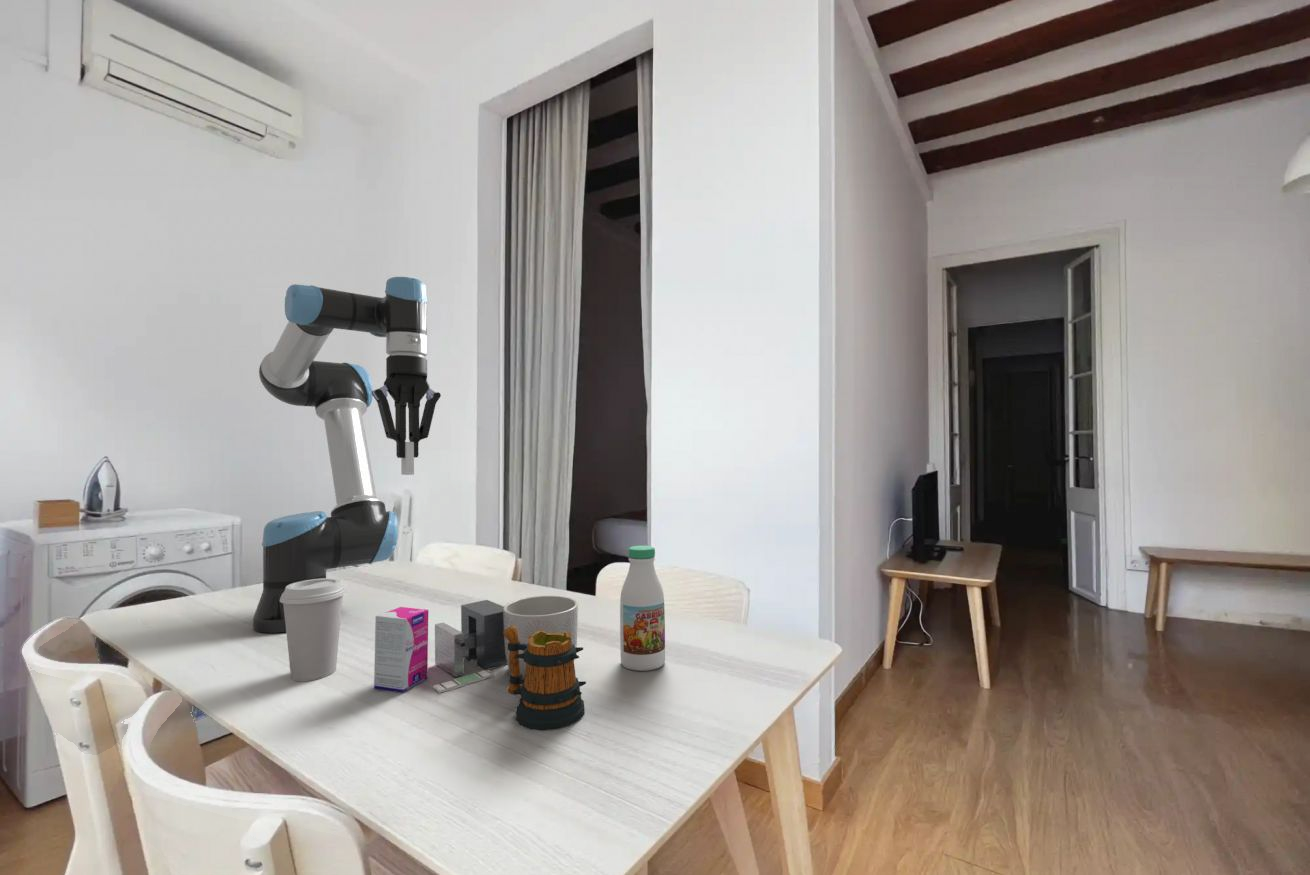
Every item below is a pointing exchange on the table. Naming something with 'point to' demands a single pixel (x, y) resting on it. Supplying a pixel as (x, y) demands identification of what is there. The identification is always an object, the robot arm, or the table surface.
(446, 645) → the grey block with crossbar
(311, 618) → the coffee cup
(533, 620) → the planter
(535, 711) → the mug
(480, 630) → the box
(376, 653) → the supplement box
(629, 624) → the milk bottle
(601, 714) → the table surface
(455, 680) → the strip
